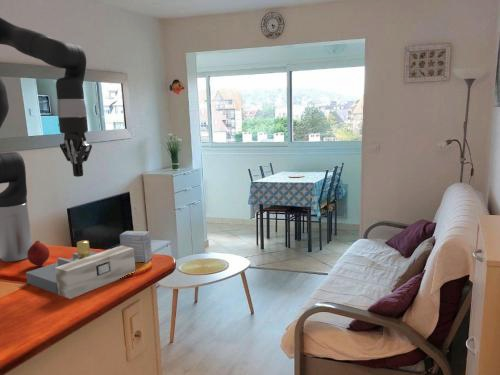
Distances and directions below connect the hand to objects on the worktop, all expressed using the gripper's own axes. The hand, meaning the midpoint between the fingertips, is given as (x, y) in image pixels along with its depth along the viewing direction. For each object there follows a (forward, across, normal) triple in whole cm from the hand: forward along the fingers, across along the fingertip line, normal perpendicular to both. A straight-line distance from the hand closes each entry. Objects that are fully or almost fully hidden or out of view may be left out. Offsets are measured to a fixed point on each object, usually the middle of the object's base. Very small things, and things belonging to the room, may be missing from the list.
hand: (78, 176), depth 122 cm
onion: (+26, -9, -10) cm, 30 cm away
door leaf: (+26, +8, -8) cm, 28 cm away
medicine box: (+26, +12, +9) cm, 30 cm away
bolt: (+23, +15, -8) cm, 28 cm away
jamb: (+26, +18, -8) cm, 32 cm away
